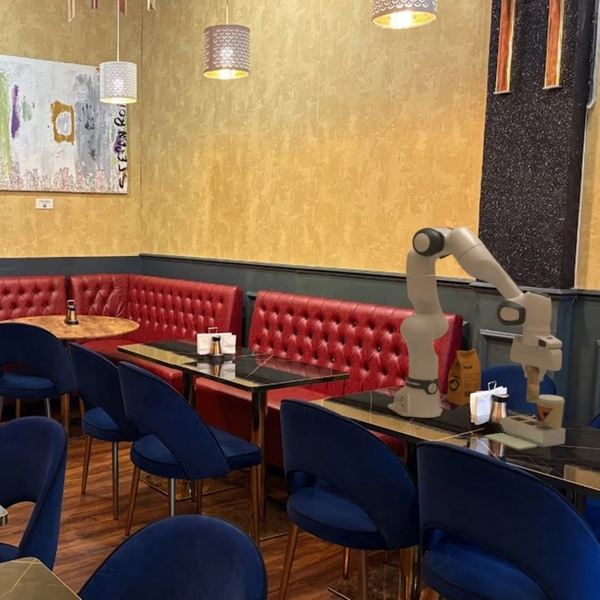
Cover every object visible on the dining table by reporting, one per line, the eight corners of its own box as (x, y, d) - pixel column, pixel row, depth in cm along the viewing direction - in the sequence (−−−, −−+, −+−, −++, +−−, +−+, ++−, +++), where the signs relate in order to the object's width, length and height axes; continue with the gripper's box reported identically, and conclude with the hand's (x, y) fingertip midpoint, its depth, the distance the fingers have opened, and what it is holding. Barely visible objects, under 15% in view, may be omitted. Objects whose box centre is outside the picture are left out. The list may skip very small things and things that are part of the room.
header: (499, 431, 252) (500, 417, 252) (520, 428, 257) (521, 415, 256) (542, 447, 235) (543, 432, 234) (564, 443, 239) (565, 428, 239)
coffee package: (443, 401, 297) (445, 348, 295) (466, 398, 303) (468, 347, 301) (459, 406, 288) (461, 352, 286) (483, 403, 294) (485, 350, 292)
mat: (484, 437, 245) (484, 435, 245) (502, 434, 249) (502, 432, 249) (518, 450, 231) (518, 448, 231) (537, 447, 235) (537, 445, 235)
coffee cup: (529, 428, 258) (531, 395, 257) (550, 426, 261) (552, 393, 260) (547, 435, 249) (548, 401, 248) (568, 433, 252) (570, 399, 251)
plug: (523, 400, 246) (525, 366, 244) (532, 399, 247) (534, 365, 246) (532, 403, 242) (534, 368, 241) (541, 402, 244) (543, 367, 243)
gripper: (507, 334, 250) (504, 373, 252) (552, 344, 232) (549, 386, 234) (520, 334, 253) (518, 372, 255) (566, 343, 235) (563, 384, 237)
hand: (533, 379), depth 244 cm, fingers closed on plug, 4 cm apart
